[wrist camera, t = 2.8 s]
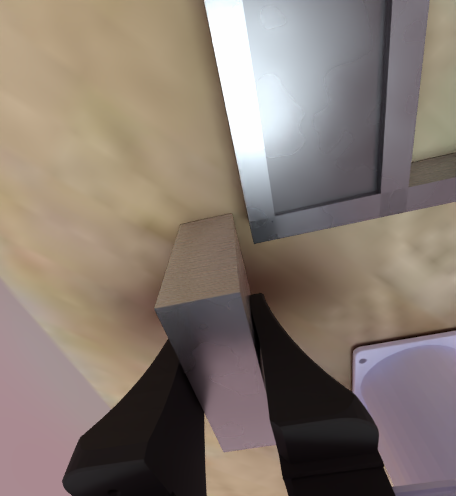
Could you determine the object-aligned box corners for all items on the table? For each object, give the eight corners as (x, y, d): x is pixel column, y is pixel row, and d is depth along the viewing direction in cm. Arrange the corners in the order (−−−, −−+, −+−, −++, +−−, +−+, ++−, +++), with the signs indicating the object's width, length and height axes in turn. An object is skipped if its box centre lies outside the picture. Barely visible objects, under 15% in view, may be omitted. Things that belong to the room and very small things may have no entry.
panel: (261, 339, 17) (279, 444, 12) (222, 346, 18) (223, 452, 12) (231, 213, 13) (239, 292, 8) (180, 224, 13) (153, 308, 8)
